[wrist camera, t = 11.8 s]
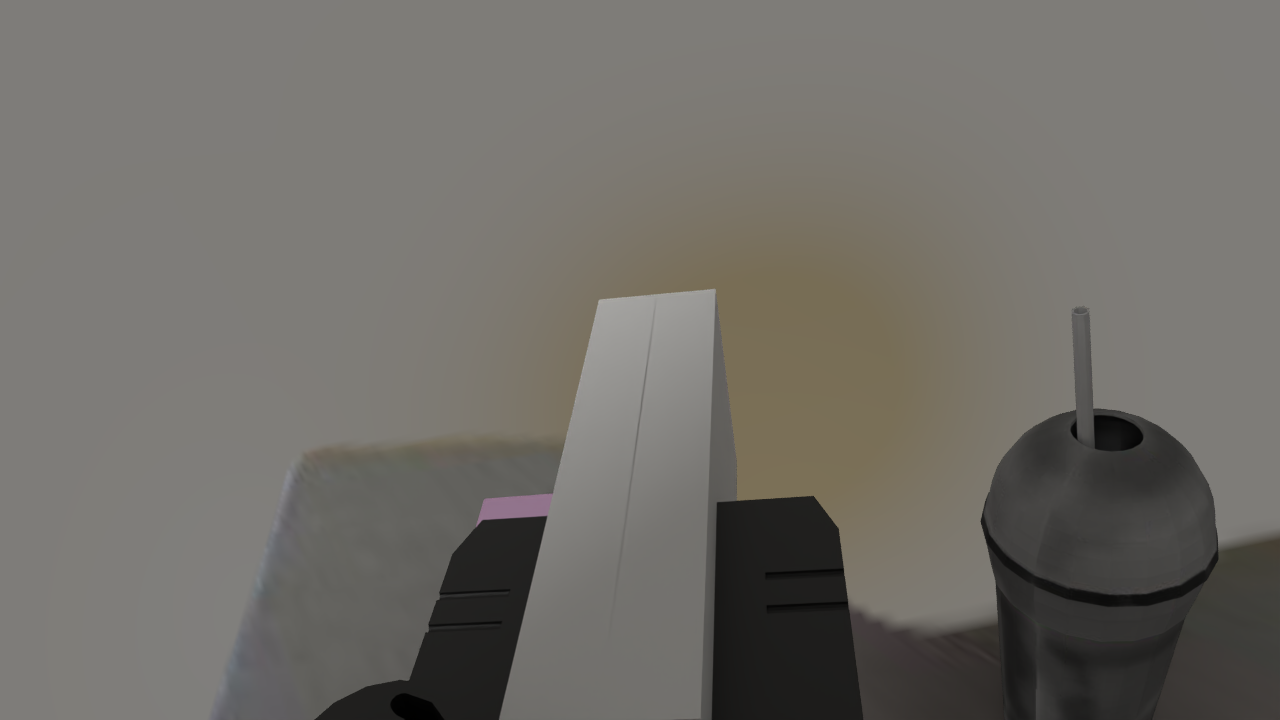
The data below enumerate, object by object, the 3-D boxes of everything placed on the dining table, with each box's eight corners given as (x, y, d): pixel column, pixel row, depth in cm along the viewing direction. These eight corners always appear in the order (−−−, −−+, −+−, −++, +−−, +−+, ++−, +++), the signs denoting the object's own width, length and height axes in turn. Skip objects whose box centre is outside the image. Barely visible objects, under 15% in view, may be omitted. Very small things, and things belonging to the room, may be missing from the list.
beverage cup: (1212, 823, 36) (1326, 348, 26) (1009, 849, 37) (1045, 387, 27) (1119, 667, 43) (1183, 235, 33) (947, 691, 43) (957, 268, 33)
